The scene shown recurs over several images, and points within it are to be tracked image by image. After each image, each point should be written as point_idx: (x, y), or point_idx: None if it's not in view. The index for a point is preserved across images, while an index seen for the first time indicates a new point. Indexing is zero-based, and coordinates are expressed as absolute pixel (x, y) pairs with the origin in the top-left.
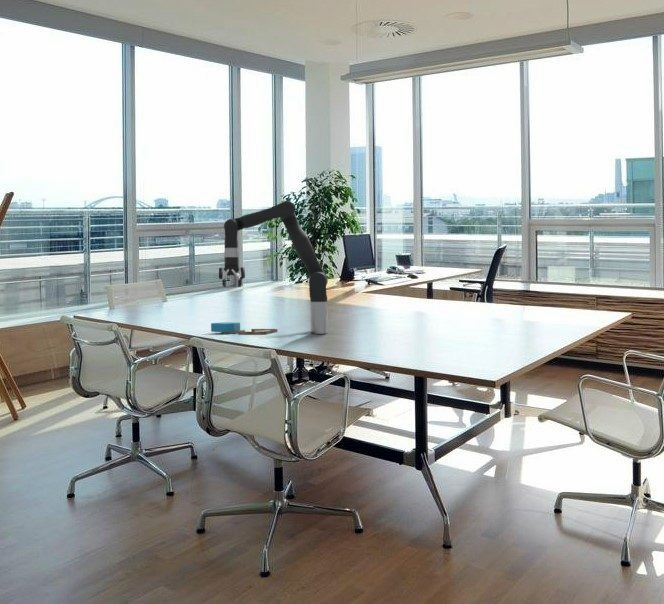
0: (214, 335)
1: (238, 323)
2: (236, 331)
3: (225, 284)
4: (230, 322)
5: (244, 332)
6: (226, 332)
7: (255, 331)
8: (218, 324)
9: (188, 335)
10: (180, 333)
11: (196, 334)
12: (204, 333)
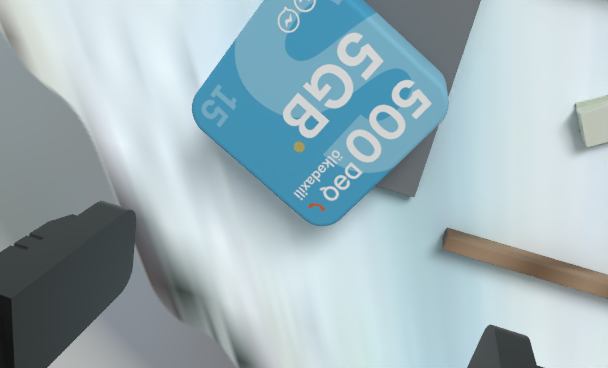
0: (286, 260)
1: (434, 128)
2: None
3: (100, 269)
4: (347, 47)
5: (491, 260)
6: None
7: (586, 142)
8: (271, 188)
9: None
10: (7, 40)
11: (146, 153)
12: (172, 76)
